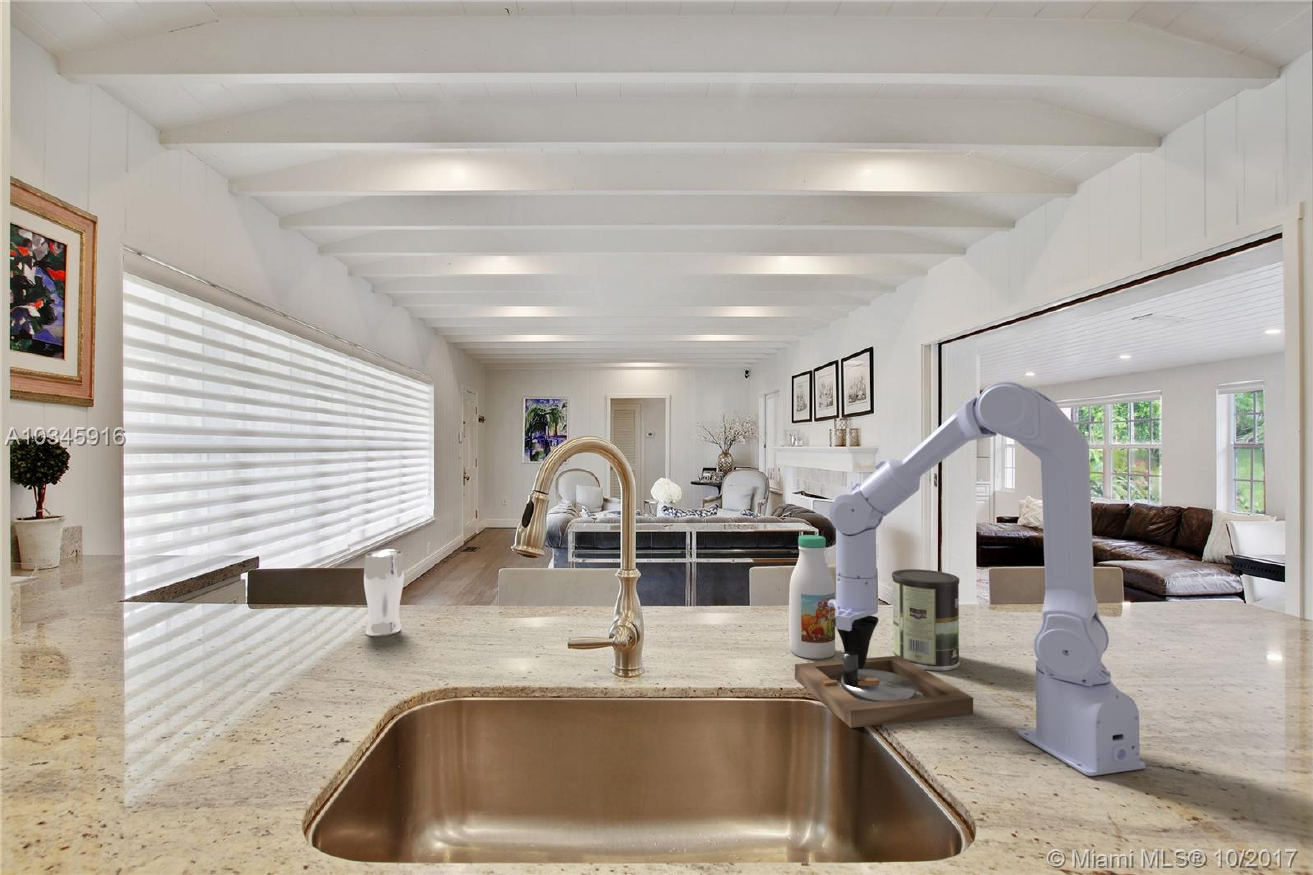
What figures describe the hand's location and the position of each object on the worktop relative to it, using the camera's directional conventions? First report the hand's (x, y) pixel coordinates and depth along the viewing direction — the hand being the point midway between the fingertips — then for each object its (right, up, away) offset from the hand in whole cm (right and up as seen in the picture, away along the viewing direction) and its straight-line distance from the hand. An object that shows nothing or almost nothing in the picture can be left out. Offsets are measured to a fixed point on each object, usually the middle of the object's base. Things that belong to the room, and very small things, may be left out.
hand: (856, 666), depth 87 cm
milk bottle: (-3, -3, +14) cm, 15 cm away
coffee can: (+15, -3, +11) cm, 19 cm away
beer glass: (-82, -3, +25) cm, 86 cm away
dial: (+2, -3, -3) cm, 5 cm away
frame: (+2, -3, -3) cm, 5 cm away
